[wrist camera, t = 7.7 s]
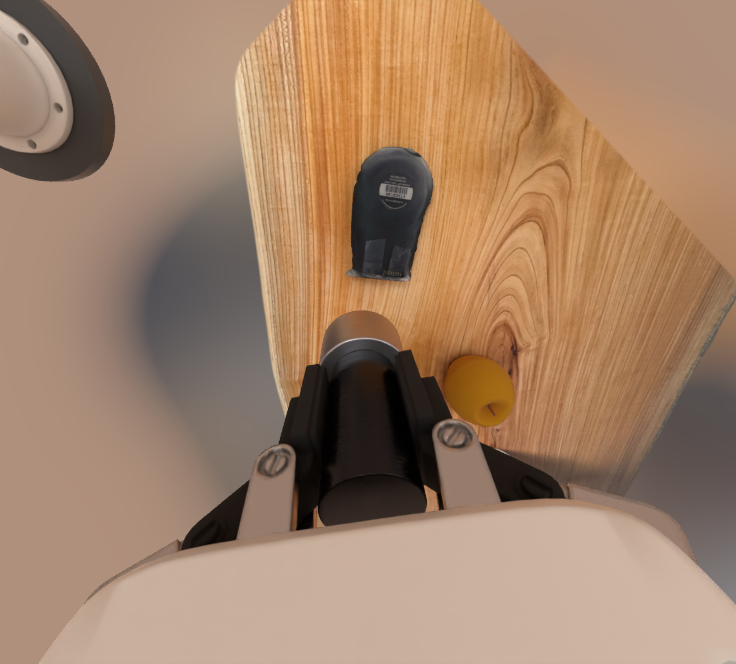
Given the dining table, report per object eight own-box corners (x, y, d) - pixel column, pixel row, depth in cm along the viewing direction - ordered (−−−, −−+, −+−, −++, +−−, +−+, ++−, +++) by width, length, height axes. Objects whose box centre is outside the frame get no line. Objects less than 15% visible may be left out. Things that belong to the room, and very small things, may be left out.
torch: (313, 364, 16) (277, 539, 8) (337, 298, 15) (322, 441, 7) (381, 384, 17) (409, 559, 9) (412, 324, 15) (478, 477, 7)
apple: (499, 374, 50) (539, 425, 40) (448, 398, 52) (473, 452, 41) (481, 332, 46) (520, 376, 36) (426, 359, 48) (448, 408, 37)
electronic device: (412, 271, 42) (439, 151, 33) (414, 288, 38) (446, 154, 29) (349, 262, 42) (360, 140, 34) (343, 278, 38) (354, 141, 29)
